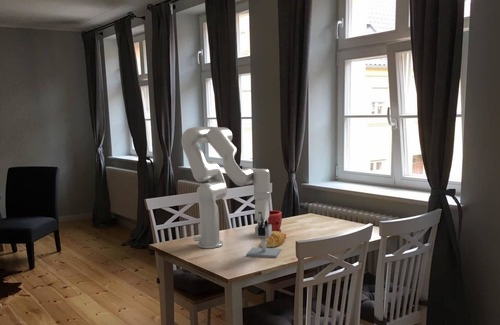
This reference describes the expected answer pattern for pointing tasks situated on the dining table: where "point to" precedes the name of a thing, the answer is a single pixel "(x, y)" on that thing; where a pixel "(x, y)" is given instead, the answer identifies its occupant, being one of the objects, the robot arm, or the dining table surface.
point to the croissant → (274, 239)
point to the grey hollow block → (267, 230)
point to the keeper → (263, 250)
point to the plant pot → (275, 220)
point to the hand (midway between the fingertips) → (263, 233)
